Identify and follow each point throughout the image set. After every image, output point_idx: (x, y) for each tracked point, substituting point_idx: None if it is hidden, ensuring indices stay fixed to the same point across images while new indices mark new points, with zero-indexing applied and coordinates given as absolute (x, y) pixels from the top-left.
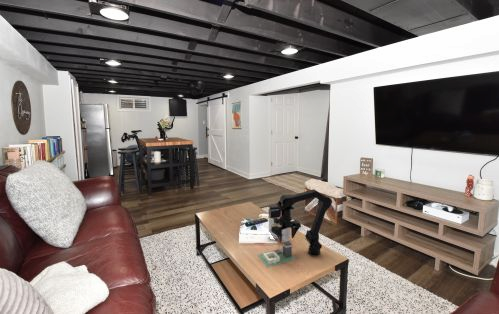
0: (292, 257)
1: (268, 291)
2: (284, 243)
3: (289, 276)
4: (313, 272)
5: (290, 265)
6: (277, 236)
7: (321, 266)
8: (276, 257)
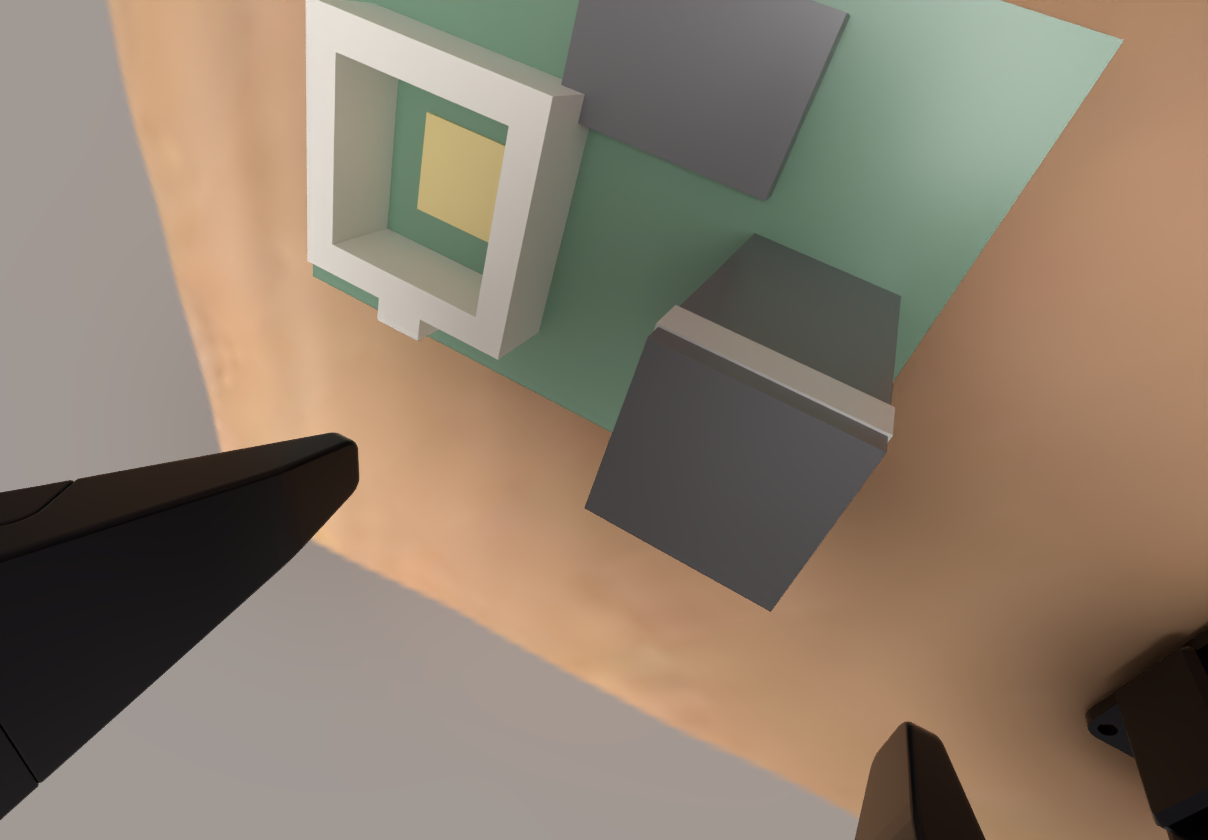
0: None
1: None
2: (638, 416)
3: (471, 540)
4: (720, 730)
5: None
6: (24, 495)
7: None
8: (449, 310)
